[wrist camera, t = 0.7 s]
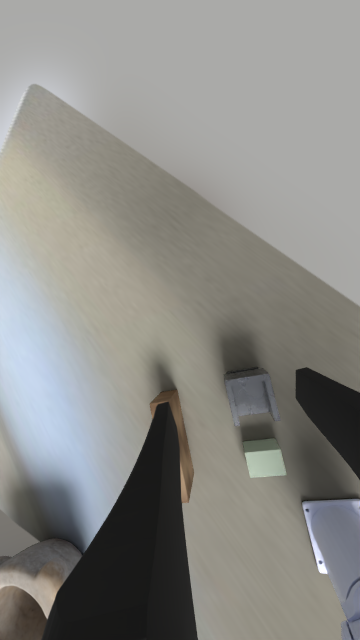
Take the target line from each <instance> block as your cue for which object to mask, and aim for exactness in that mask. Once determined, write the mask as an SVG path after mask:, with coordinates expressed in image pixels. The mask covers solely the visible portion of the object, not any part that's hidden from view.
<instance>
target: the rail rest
mask: <svg viewBox="0 0 360 640" xmlns="http://www.w3.org/2000/svg"><path fill="white" fill-rule="evenodd" d="M243 447H244V452H245V456H246V461H247V465H248V470H249V474H250V478H253V477H267V476H281V475H287V474H286V470H285V466H284V462H283V458H282V454H281V450H280V448H279V446H278V444H277V442H276V440H275V438H272V439H262V440H253V441H243Z"/></svg>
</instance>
